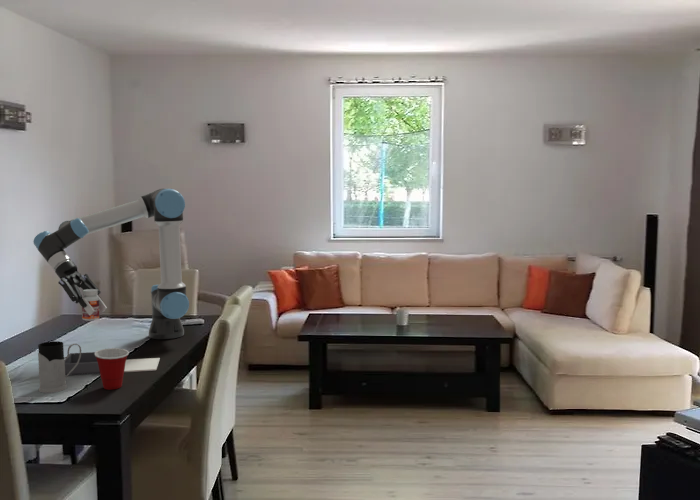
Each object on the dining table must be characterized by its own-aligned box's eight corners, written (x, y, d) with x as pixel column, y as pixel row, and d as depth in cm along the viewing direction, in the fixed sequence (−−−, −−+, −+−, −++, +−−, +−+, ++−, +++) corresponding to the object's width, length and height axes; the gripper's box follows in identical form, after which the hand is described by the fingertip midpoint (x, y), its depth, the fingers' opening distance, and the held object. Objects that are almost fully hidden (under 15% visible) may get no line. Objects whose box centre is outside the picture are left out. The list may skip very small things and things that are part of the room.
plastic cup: (110, 394, 219) (108, 357, 218) (88, 388, 225) (87, 353, 223) (137, 385, 228) (136, 350, 227) (115, 380, 234) (114, 346, 233)
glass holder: (34, 388, 225) (32, 344, 224) (77, 379, 235) (75, 337, 234) (44, 394, 219) (42, 348, 218) (87, 385, 229) (86, 341, 227)
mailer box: (159, 359, 262) (159, 348, 262) (156, 370, 246) (155, 359, 246) (70, 363, 256) (70, 353, 255) (61, 375, 240) (60, 364, 240)
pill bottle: (91, 321, 257) (91, 291, 256) (78, 320, 259) (78, 290, 258) (102, 318, 263) (102, 289, 261) (89, 317, 265) (89, 288, 263)
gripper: (76, 269, 273) (110, 313, 269) (38, 275, 255) (74, 322, 251) (86, 257, 271) (120, 301, 267) (49, 262, 253) (85, 309, 249)
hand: (98, 311), depth 259 cm, fingers closed on pill bottle, 6 cm apart
